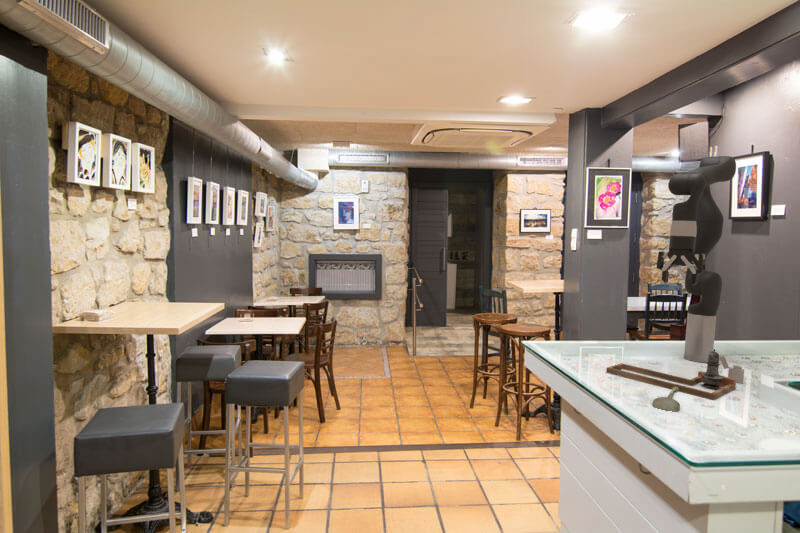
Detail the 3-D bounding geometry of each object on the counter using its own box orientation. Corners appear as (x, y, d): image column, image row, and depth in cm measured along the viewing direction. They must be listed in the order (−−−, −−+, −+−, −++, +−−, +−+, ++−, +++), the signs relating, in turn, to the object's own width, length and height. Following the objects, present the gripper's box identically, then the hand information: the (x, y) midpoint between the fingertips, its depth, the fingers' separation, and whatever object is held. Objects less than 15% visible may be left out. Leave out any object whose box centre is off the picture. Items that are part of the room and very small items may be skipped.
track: (632, 364, 180) (632, 355, 180) (735, 388, 155) (736, 379, 155) (606, 372, 168) (607, 363, 168) (713, 400, 144) (714, 389, 144)
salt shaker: (717, 385, 158) (721, 347, 157) (725, 391, 153) (729, 351, 152) (697, 383, 160) (700, 345, 159) (704, 389, 154) (707, 350, 153)
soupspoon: (649, 411, 136) (676, 419, 132) (650, 399, 135) (678, 406, 132) (663, 389, 154) (688, 394, 150) (665, 378, 153) (689, 384, 149)
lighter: (743, 382, 162) (745, 357, 162) (743, 383, 161) (745, 359, 160) (717, 378, 166) (719, 354, 166) (716, 379, 165) (718, 355, 164)
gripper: (655, 233, 170) (652, 282, 171) (702, 235, 159) (697, 287, 160) (665, 234, 175) (661, 281, 176) (711, 235, 164) (707, 285, 165)
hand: (679, 283), depth 168 cm, fingers open, 8 cm apart
